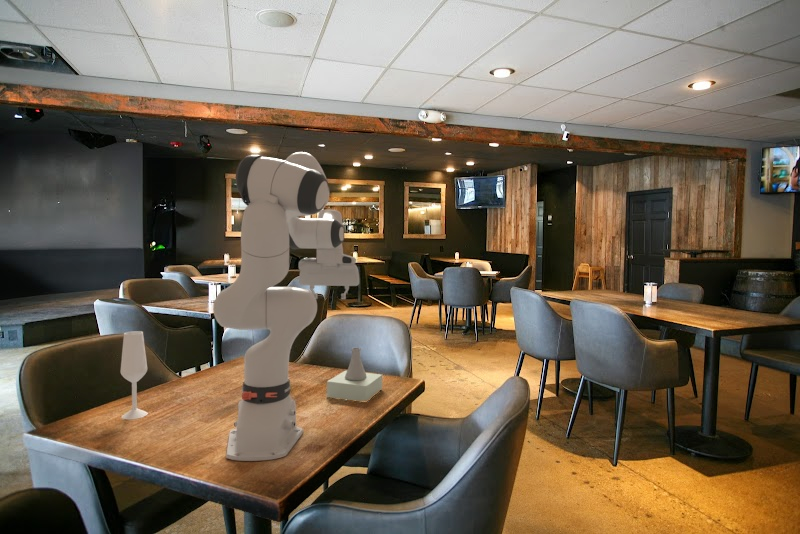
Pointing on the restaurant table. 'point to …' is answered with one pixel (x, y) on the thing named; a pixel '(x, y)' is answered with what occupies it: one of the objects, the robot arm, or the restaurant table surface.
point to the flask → (355, 366)
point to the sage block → (354, 387)
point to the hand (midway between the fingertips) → (329, 298)
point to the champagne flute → (133, 368)
